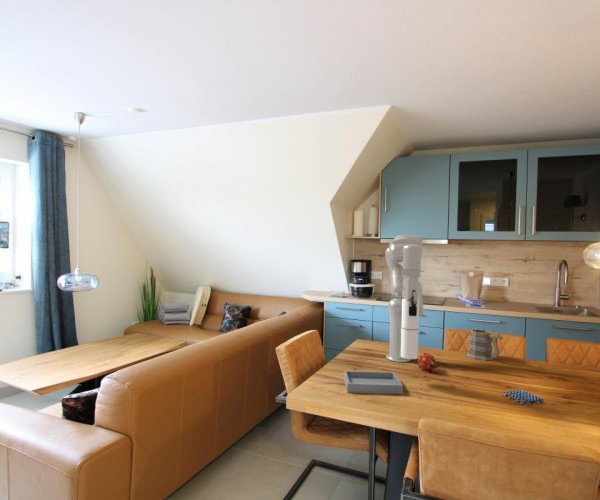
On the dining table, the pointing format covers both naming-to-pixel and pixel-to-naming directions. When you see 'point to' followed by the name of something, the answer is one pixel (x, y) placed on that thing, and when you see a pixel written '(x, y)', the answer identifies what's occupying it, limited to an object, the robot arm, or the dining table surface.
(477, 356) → the tankard
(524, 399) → the woven mat
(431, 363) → the dragon fruit
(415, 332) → the cylindrical container
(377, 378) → the tray
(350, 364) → the dining table surface
